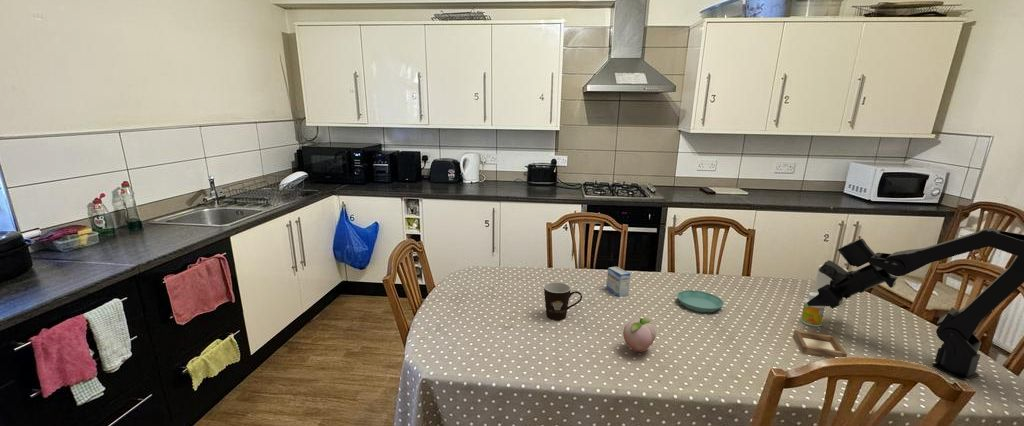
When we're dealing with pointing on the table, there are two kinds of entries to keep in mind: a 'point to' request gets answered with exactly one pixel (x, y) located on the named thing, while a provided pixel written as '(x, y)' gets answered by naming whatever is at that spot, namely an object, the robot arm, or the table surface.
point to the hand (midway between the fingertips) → (811, 301)
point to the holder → (819, 344)
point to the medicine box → (618, 281)
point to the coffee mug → (558, 300)
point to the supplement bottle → (812, 312)
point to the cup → (822, 280)
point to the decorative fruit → (639, 334)
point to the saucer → (700, 301)
